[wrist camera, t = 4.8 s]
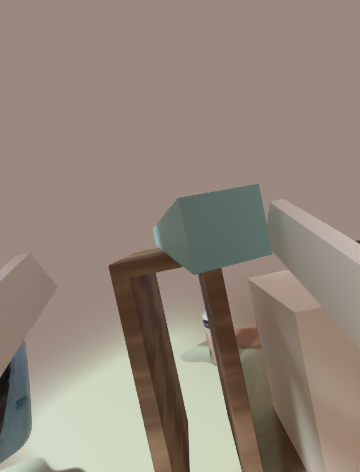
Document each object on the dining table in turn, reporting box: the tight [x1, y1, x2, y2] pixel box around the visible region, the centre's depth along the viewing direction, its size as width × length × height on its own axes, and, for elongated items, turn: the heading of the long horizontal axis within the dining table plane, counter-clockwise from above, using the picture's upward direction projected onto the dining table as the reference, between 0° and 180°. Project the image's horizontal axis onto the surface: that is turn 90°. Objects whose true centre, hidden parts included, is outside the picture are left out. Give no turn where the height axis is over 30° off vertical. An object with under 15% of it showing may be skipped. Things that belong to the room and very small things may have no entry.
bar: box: [153, 184, 272, 275], centre depth 19 cm, size 24×4×3 cm, turn 11°
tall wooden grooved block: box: [109, 247, 263, 472], centre depth 23 cm, size 13×10×30 cm
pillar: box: [248, 270, 360, 472], centre depth 23 cm, size 12×10×22 cm
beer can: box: [202, 309, 217, 366], centre depth 42 cm, size 5×5×12 cm
